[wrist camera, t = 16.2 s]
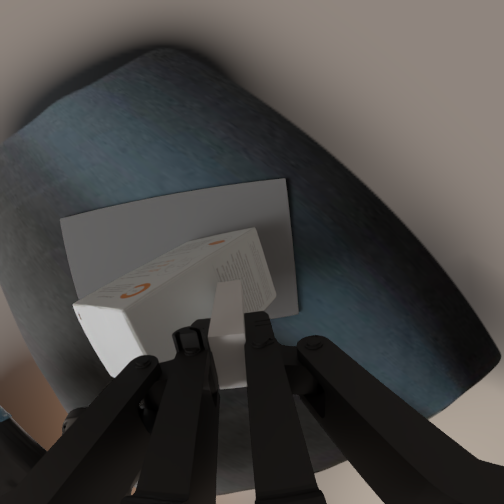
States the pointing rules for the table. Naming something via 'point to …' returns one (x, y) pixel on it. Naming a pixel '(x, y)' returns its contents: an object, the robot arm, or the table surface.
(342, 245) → the table surface
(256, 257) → the small box
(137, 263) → the mat
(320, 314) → the table surface
